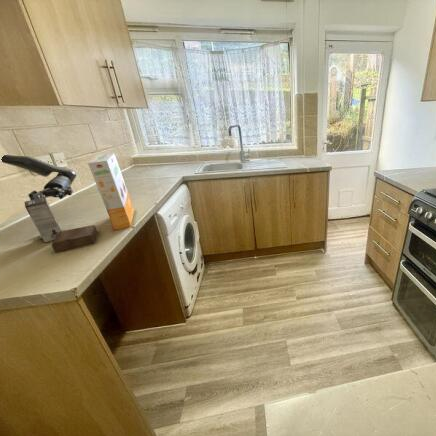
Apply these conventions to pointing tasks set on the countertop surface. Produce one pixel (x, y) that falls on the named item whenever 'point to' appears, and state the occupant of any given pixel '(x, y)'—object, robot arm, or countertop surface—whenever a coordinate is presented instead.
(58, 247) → the block
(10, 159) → the robot arm
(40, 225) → the coffee box
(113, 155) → the cereal box
